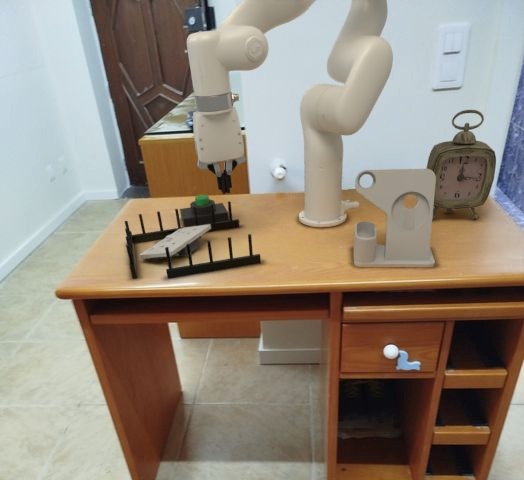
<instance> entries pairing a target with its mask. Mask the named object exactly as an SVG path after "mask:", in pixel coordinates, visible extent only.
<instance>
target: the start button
mask: <svg viewBox="0 0 524 480" xmlns="http://www.w3.org/2000/svg"><path fill="white" fill-rule="evenodd" d="M209 199H210V197H209V195H207V194H200V195H196V196H194V201H195V202H196V205H197V206H206V205H208V204H209Z"/></svg>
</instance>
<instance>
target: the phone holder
mask: <svg viewBox="0 0 524 480" xmlns="http://www.w3.org/2000/svg"><path fill="white" fill-rule="evenodd" d="M364 175H369V176H370V177H371V178H372V183H371V185H370V186H369V187H363V186H362V185H361V183H360V182H361V178H362V177H363V176H364ZM354 183H355V184H354V188H355V191H356V192H357V193H358V195H360V196H361V197H363V198H365V200H367V201H368V202H370V203H371V204H373V206H375V207H376V208H377V209H379V210H381V211H382V212H383V213H384V214H385V215H386V223H385V241H384V244H377V241H378V233H377V227H376V224H375V223H373V222H371V221H359V222H357V223H355V225H354V233H353V234H354V235H353V237H354V238H353V249H352V251H353V265H354V266H355V267H357V268H434V266H435V263H436V260H435V257H434V255H433V252H432V249H431V241H432V240H431V239H432V226H433V220H432V217H433V209H434V194H435V183H436V176H435V173H434V172H433V171H432V170H430V169H426V168H398V169H397V168H394V169H393V168H392V169H390V168H389V169H364V170H361V171H360V172H359V173H358V174H357V175H356V177H355V182H354ZM409 195H413V196H414V197H415V198H416V203H415V205H414V206H413V207H411V208H408V207H406V206H405V204H404V200H405V199H406V197H407V196H409Z"/></svg>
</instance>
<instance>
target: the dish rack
mask: <svg viewBox="0 0 524 480" xmlns="http://www.w3.org/2000/svg"><path fill="white" fill-rule="evenodd" d="M227 209H228V217H229V220H228V221H222V222H215V215H214V206H213V204H211V213H212V221H213V223H208V224H210V225H211V229H210V230H208V231H207V232H206V233H210V232H217V231H225V230H229V229H237V228H240V219H238V218H237V219H236V218H235V219H233V212H232V202H231V201H230V200H229V201H227ZM174 211H175V212H174V213H175V217H176V223H177V224H176V225H177V228H176V227H175V228H169V229H164V226H163V221H162V216H161V211H156V215H157V220H158V224H159V229H160V230H156V231H149V232H146V229H145V225H144V219H143V215H142V213H139V214H138V218H139V222H140V223H139V224H140V227H141V232H142V233H136V234H133V233H132V231H131V230H130V227H129V226H130V225H129V221H128V220H124V224H125V228H124V231H125V235H126V236H125V241H126V245H125V247H126V251H127V256H128V260H129V261H128V263H129V269H130V273H131V278H132V280H135V279H138V271H137V260H136V252H135V251H136V250H135V244H139V243H146V242H151V241H158V240H163V239H164V238H165V237H166V236H168V235H171V234H172V233H174V232H175V231H177V230H178V229H181V228H185V227H184V226H183V227H181V220H180V219H181V218H180V212H179V209H178V208H175V209H174ZM193 211H194V218H195V226H201V225H198V220H197V213H196V206H193ZM208 224H202V225H208ZM188 227H193V226H188ZM247 239H248V252H249V255H244V256H238V257H234V254H233V244H232V238H231V236H228V237H227V244H228V254H229V258H225V259H219V260H214V259H213V249H212V243H211V240H210V239H209V240H207V241H206V245H207V250H208V251H207V252H208V259H209V261H207V262H201V263H193V258H192V252H191V250H190V244H186V246H187V252H188V255H187V258H188V264H189V265H183V266H182V265H181V266H176V267H173V266H172V265H173V264H172V260H171V259H172V258H170V254H169V248H168V247H165V250H166V256H167V259H166V261H167V266H168V268H166V269H165V271H166V276H167V279H175V278H180V277H187V276H192V275H198V274H199V275H200V274H205V273H211V272H215V271H216V272H217V271H222V270H223V271H224V270H229V269H233V268H234V269H235V268H239V267H247V266H253V265H258V264H261V263H262V261H261V253H256V254H254V252H253V241H252V240H253V239H252V233H249V234H247Z"/></svg>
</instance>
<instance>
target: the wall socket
mask: <svg viewBox="0 0 524 480" xmlns="http://www.w3.org/2000/svg"><path fill="white" fill-rule="evenodd" d="M210 229H211V225H210V224H208V225H201V226H193V227H185V228H182V227H181V229H178V230H177V231H175V232H174V233H172V234H171V235H168V236H166V237H165V238H164V239H160V241H158V242H156V243H155V244H153V245H152V246H150V247H149V248H147V249H146V250H144V251H142V252H141V253H140V254H139V257H140V259H149V261H150V262H152V261H160V260H167V256H166V250H165V247H168V248H169V254H170V259H173V258H175V257H186V256H187V257H188V252H187V246H186V244H190V250H191V253H194V251H196V250H197V249H198V248H200V246H199V243H198V242H200V239H201V238H202V235H204V234H206V233H208V232H207V231H208V230H210Z"/></svg>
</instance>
